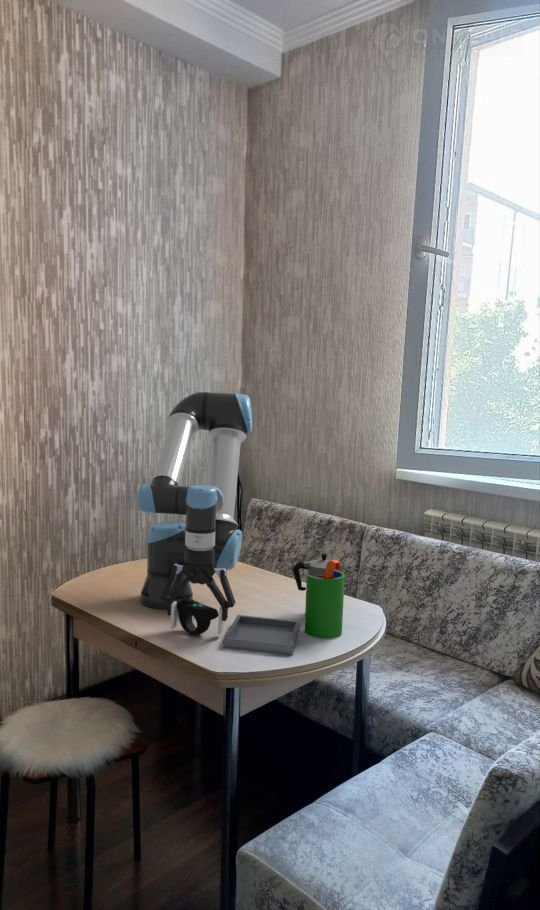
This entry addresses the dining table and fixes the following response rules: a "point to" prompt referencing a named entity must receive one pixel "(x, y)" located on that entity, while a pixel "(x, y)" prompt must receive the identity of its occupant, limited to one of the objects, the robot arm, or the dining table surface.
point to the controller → (195, 615)
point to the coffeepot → (312, 569)
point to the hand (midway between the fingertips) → (196, 630)
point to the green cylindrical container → (325, 602)
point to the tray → (263, 635)
